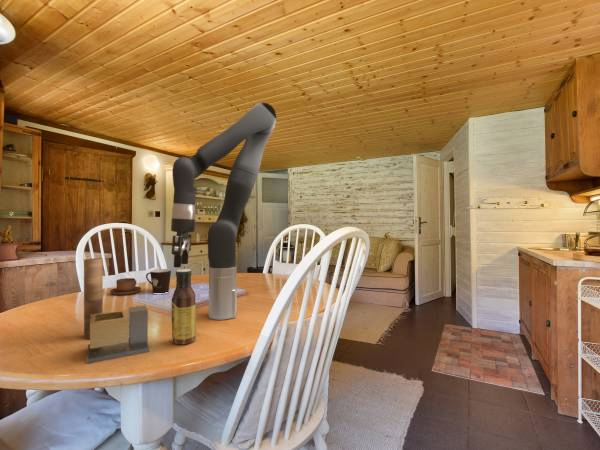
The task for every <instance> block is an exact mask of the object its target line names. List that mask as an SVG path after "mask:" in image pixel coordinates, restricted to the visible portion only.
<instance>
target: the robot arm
mask: <svg viewBox="0 0 600 450" xmlns="http://www.w3.org/2000/svg"><path fill="white" fill-rule="evenodd" d="M276 122H277V113H276V110H275V108H274V107H273V105H271V104H269V103H268V102H260V103H259V102H258V103H256V104H255V105H254V106H253V107H251V108H250V109H249V111H247V112H246V113H245V114H243V116H241V118H239V119H238V120H237V121H236V122H235V123H233V124H232V125H231V126H230V127H228V128H227V129H225V130H224V131H222V132H220V134H218V135H217V136H215V137H214V138H212V139H211V140H209V141H207V142H205V143H204V144H203V145H201V146H200V147H199V148H197V150H196V152H195V154H193V155H192V156H191V157H189V158H188V157H186V156H181V157H178V158H177V159H176V160H175V161H174V163H173V165H172V173H171V174H172V183H173V200H172V203H173V204H172V209H171V221H170V222H171V223H170V225H171V226H170V231H171V232H174V233H175V232H176V234H175V235H172V243H171V244H172V246H171V255H173V268H181V267H182V265H187V264H189V253H190V252H191V250H192V234H191V233H194V232H196V231H195V230H196V229H195V228H196V227H195V226H196V214H197V213H196V190H195V189H196V188H195V186H194V184H195V180H196V179H197V178H199V177H200V176H201V175H203V173H205V171H207V170H208V169H209V168H210V167H212V166H213V165H215V164H216V163H218V162H219V161H221V160H222V159H224V158H225V157H227V155H229V154H231V153H232V152H233V151H234V150H235V149H236V148H237V147H238V146H239V145H240V144H241V143H243V142H244V143H243V145H242V147H241V148H240V150H239V152H238V154H237V155H236V157H235V160H234V162H233V164H232V166H231V169H230V172H229V175H228V179H227V182H226V187H225V194H224V199H223V203H222V207H221V209H220V212H219V215H218V217H217V219H216V221H214V222H213V223H212V224H211V225H210V226H209V228H208V231H207V259H208V318H210V319H211V320H219V321H221V320H228V319H235V318H236V316H237V312H238V311H237V304H238V303H237V301H238V300H237V298H238V295H237V293H238V288H237V244H236V243H237V238H238V232H239V231H238V230H239V227H240V224H241V223H240V222H241V219H242V215H243V213H244V210H245V207H246V205H247V203H248V201H249V198H251V197H250V196H251V194H252V192H253V190H254V187H255V184H256V181H257V178H258V175H259V173H260V168H261V163H262V160H263V154H264V152H265V148H266V145H267V144H268V141H269V140H270V137H271V134H272V133H273V131H274V129H275V126H276ZM189 233H190V234H189Z"/></svg>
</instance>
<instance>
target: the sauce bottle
mask: <svg viewBox="0 0 600 450" xmlns="http://www.w3.org/2000/svg"><path fill="white" fill-rule="evenodd" d="M191 276H192V269H190V268H181V269H177V270H175V277H176V279H175V281H176V284H175V289H174V292H173V294H172V298H171V337H172V342H173V344H175V345H188V344H191V343H192V342H194V341H196V334H197V311H196V310H197V304H196V292H195V290H194V289H193V288H192V283H191V282H192V281H191V280H192V277H191Z"/></svg>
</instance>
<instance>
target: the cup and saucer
mask: <svg viewBox="0 0 600 450" xmlns="http://www.w3.org/2000/svg"><path fill="white" fill-rule="evenodd" d="M115 282H116V287H115V288H112V289H110V291H109V292H110V293H111V294H112V295H118V296H126V295H133V294H136V293H138V292H140V291H141V290H142V287H140V286H136V285H137V279H136V278H133V277H132V278H130V277H126V278H119V279H117V280H116V281H115Z"/></svg>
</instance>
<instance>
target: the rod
mask: <svg viewBox="0 0 600 450" xmlns="http://www.w3.org/2000/svg"><path fill="white" fill-rule="evenodd" d="M103 262H104V261H103V258H94V257H93V258H85V259H83V316H84V317H83V340H88V341H90V317H91V314H99V313H104V312H103V309H104V308H103V305H104V303H103V301H104V300H103V296H104V295H103V290H104V289H103V283H104V282H103V281H104V280H103V277H104V276H103V271H104V270H103V269H104V267H103Z"/></svg>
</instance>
